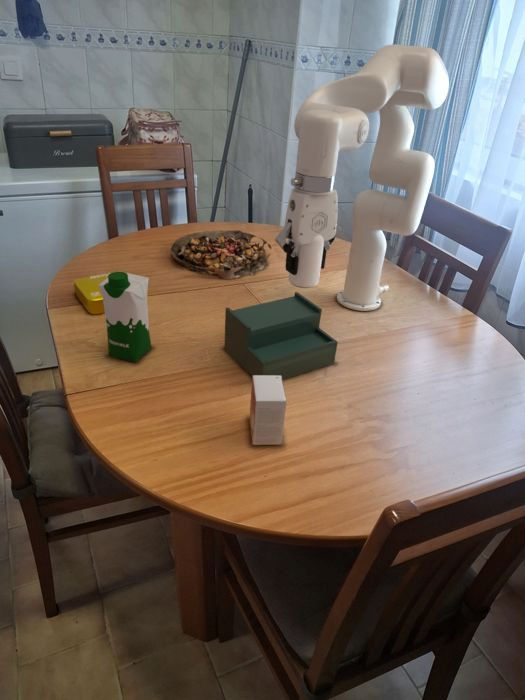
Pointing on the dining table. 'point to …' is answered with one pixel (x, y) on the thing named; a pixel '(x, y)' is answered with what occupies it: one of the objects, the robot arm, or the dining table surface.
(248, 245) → the food dish
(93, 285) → the yellow tin box
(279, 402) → the small box
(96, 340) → the dining table surface
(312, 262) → the can
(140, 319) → the milk carton
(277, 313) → the step rack
